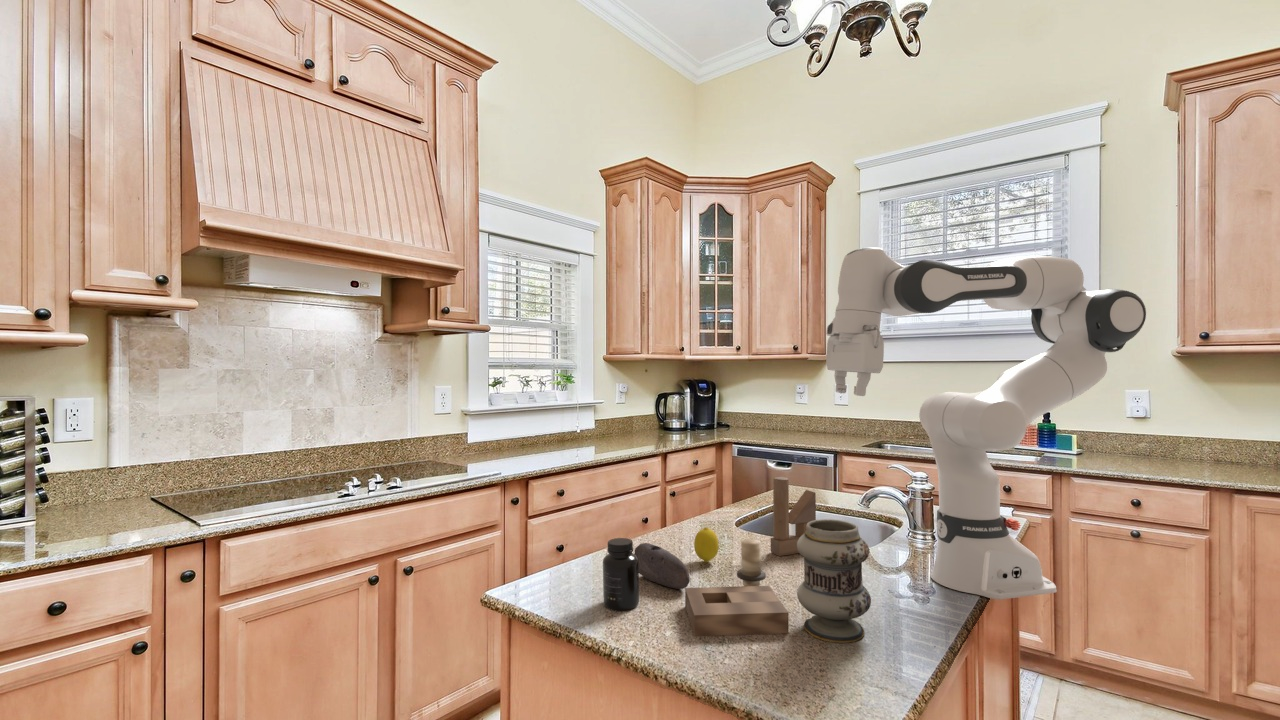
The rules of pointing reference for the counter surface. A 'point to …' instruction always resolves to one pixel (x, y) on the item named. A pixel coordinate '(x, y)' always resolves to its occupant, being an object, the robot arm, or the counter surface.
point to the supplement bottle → (620, 575)
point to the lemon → (706, 544)
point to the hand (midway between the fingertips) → (849, 394)
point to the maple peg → (751, 563)
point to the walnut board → (735, 611)
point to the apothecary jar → (833, 580)
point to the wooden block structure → (789, 517)
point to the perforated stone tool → (661, 566)
